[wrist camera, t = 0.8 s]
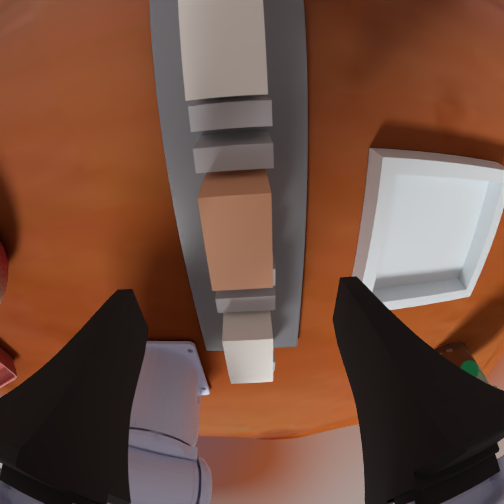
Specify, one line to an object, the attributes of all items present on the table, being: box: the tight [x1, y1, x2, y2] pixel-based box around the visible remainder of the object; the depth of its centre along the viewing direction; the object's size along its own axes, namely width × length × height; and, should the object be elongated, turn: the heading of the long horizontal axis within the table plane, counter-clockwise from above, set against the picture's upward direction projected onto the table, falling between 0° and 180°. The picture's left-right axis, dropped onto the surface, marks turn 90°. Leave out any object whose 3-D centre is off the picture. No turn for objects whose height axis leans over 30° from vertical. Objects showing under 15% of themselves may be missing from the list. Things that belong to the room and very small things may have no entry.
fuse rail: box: [149, 0, 308, 371], centre depth 16 cm, size 28×8×4 cm, turn 3°
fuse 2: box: [222, 310, 273, 384], centre depth 20 cm, size 5×3×5 cm, turn 3°
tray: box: [352, 148, 504, 310], centre depth 19 cm, size 12×12×2 cm
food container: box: [436, 342, 497, 388], centre depth 26 cm, size 12×6×10 cm, turn 45°
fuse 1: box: [178, 0, 268, 101], centre depth 10 cm, size 5×3×5 cm, turn 3°
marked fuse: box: [198, 169, 273, 291], centre depth 15 cm, size 5×3×5 cm, turn 3°
